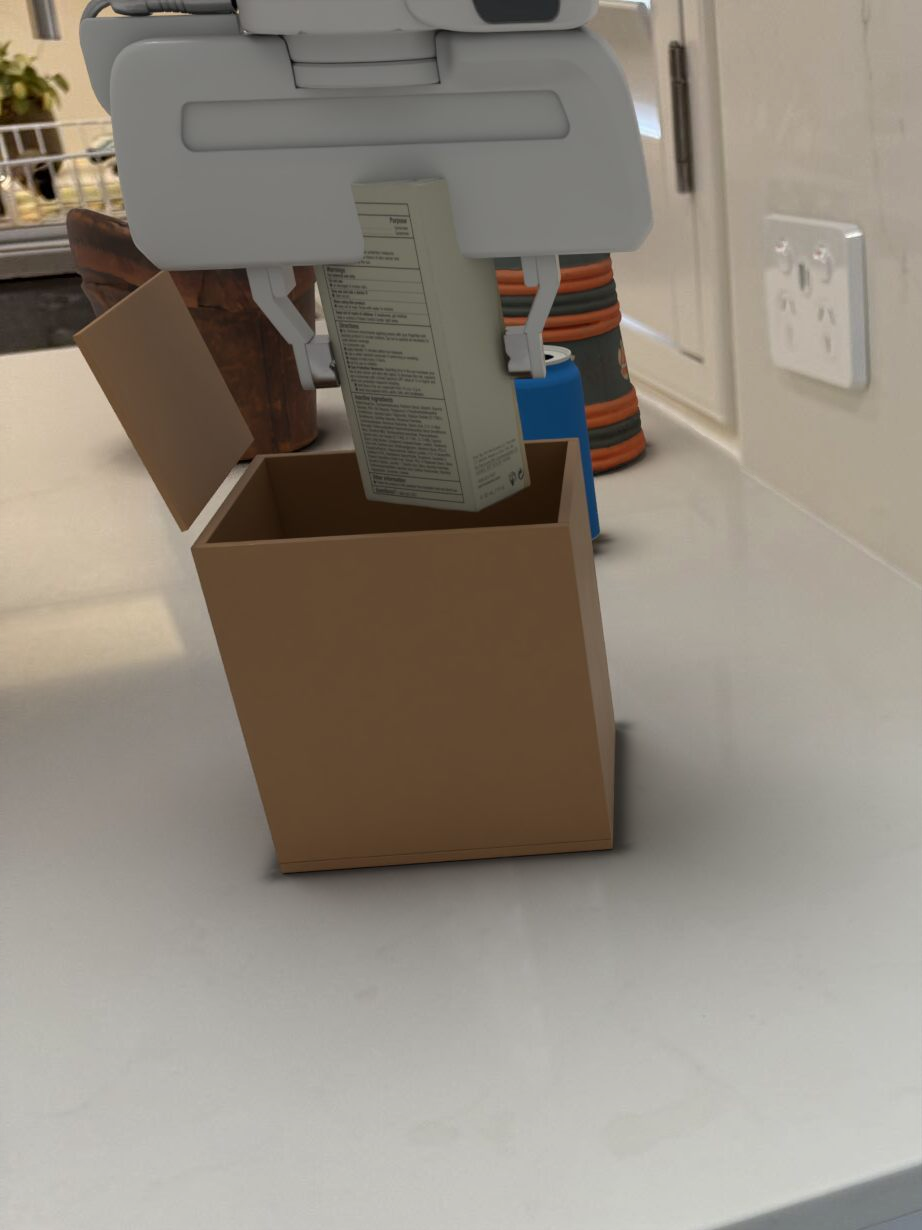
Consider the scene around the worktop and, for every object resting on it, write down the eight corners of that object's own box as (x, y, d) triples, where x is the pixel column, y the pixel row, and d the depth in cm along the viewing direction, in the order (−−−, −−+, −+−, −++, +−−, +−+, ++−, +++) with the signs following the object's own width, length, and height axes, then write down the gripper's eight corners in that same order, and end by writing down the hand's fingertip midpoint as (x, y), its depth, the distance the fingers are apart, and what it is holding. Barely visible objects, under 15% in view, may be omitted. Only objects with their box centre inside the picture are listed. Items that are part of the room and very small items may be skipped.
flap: (188, 530, 62) (181, 532, 62) (254, 439, 73) (248, 441, 73) (79, 333, 58) (71, 336, 58) (167, 268, 69) (160, 270, 69)
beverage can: (620, 540, 109) (598, 349, 102) (556, 567, 105) (528, 370, 97) (552, 526, 112) (525, 340, 104) (487, 551, 108) (454, 359, 100)
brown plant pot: (388, 413, 139) (341, 176, 128) (303, 477, 123) (241, 213, 112) (195, 413, 141) (133, 179, 130) (87, 476, 125) (5, 216, 114)
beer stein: (418, 498, 118) (359, 188, 106) (398, 450, 129) (342, 164, 117) (664, 469, 123) (635, 169, 111) (624, 425, 134) (594, 148, 122)
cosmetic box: (534, 490, 70) (489, 168, 62) (474, 518, 67) (419, 182, 59) (419, 475, 72) (362, 162, 64) (355, 502, 69) (288, 176, 61)
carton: (281, 873, 72) (189, 547, 63) (328, 747, 83) (255, 454, 74) (612, 849, 73) (569, 525, 64) (615, 727, 84) (578, 437, 75)
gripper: (37, -19, 54) (156, 412, 63) (630, -35, 56) (668, 387, 65) (86, -24, 59) (191, 376, 68) (630, -39, 61) (665, 353, 70)
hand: (427, 381), depth 66 cm, fingers closed on cosmetic box, 7 cm apart
